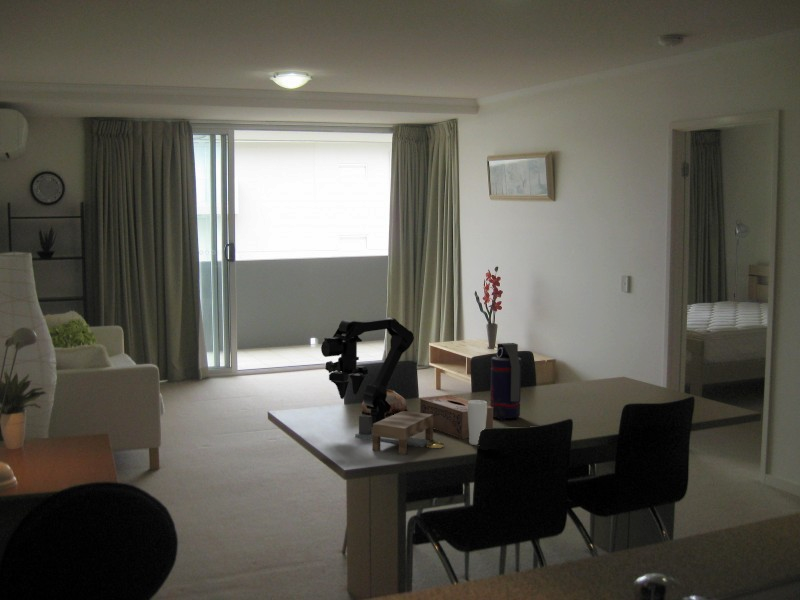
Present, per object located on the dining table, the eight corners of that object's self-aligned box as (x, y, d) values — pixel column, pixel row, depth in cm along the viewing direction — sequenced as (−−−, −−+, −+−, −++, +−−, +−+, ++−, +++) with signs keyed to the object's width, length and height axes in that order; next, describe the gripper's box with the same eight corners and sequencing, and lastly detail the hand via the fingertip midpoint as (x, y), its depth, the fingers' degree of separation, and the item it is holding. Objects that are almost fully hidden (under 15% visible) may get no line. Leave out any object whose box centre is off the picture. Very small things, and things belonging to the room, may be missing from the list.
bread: (353, 413, 341) (352, 389, 340) (390, 406, 353) (389, 383, 353) (377, 418, 328) (377, 393, 327) (415, 411, 340) (414, 387, 340)
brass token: (430, 444, 292) (430, 440, 292) (446, 446, 289) (446, 443, 289) (423, 448, 286) (423, 444, 286) (439, 450, 284) (439, 447, 284)
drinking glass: (469, 440, 296) (470, 399, 294) (487, 442, 294) (488, 400, 292) (465, 445, 289) (465, 403, 288) (484, 447, 287) (485, 404, 286)
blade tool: (363, 434, 304) (363, 413, 303) (429, 444, 292) (429, 422, 291) (355, 438, 298) (355, 416, 297) (422, 448, 286) (422, 425, 286)
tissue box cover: (420, 424, 320) (420, 398, 319) (449, 419, 328) (450, 394, 327) (462, 439, 298) (462, 411, 298) (492, 433, 307) (493, 407, 306)
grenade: (484, 415, 335) (486, 341, 332) (510, 413, 339) (512, 340, 336) (501, 423, 322) (503, 346, 319) (528, 420, 326) (530, 345, 324)
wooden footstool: (402, 435, 302) (403, 410, 301) (432, 439, 297) (433, 414, 296) (372, 450, 282) (372, 424, 281) (404, 454, 276) (404, 428, 275)
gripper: (343, 349, 316) (342, 389, 317) (316, 356, 299) (316, 398, 301) (368, 351, 311) (368, 392, 312) (343, 358, 294) (342, 402, 296)
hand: (348, 396), depth 305 cm, fingers open, 9 cm apart
